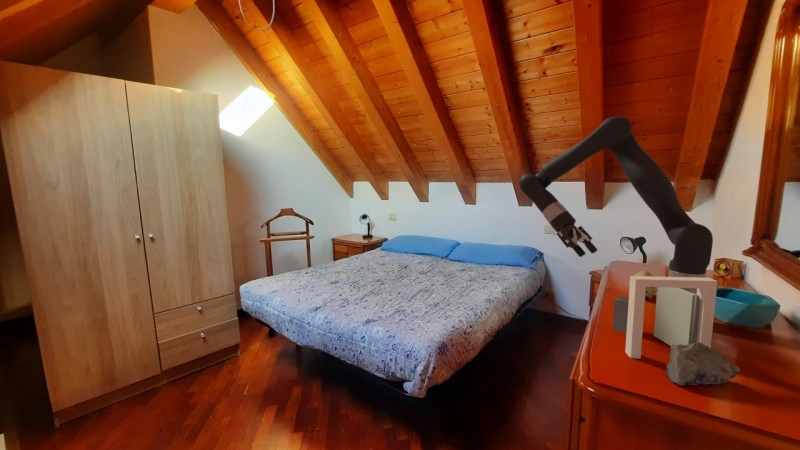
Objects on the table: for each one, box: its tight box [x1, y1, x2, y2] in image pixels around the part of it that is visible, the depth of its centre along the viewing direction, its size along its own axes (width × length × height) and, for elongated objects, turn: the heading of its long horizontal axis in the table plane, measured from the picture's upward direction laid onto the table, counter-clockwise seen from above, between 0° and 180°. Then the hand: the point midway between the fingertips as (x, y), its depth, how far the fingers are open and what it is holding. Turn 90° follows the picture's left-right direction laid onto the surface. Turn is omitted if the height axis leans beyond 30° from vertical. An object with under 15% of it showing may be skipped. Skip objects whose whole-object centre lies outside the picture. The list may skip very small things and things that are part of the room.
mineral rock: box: [665, 342, 740, 386], centre depth 77 cm, size 13×11×10 cm
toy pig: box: [628, 270, 657, 299], centre depth 133 cm, size 10×12×11 cm
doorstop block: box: [612, 295, 629, 335], centre depth 105 cm, size 4×5×10 cm
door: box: [653, 287, 699, 347], centre depth 92 cm, size 13×3×17 cm, turn 0°
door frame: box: [624, 275, 718, 359], centre depth 87 cm, size 18×3×22 cm, turn 80°
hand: (589, 253), depth 112 cm, fingers open, 8 cm apart
